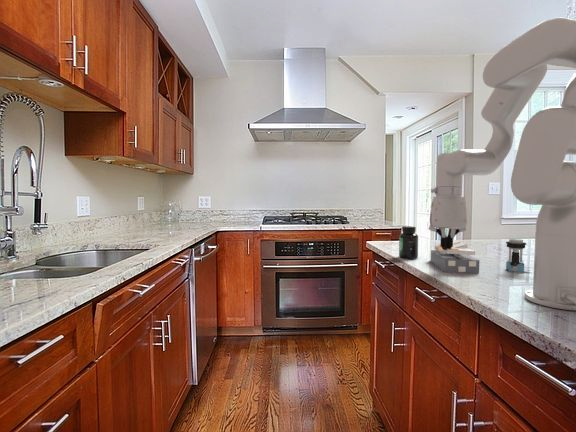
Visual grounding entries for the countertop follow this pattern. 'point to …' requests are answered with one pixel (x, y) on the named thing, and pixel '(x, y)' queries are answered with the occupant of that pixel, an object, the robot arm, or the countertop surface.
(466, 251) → the rocker
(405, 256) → the supplement bottle
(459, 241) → the rocker
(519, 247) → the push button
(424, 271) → the countertop surface
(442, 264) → the console
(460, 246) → the rocker
